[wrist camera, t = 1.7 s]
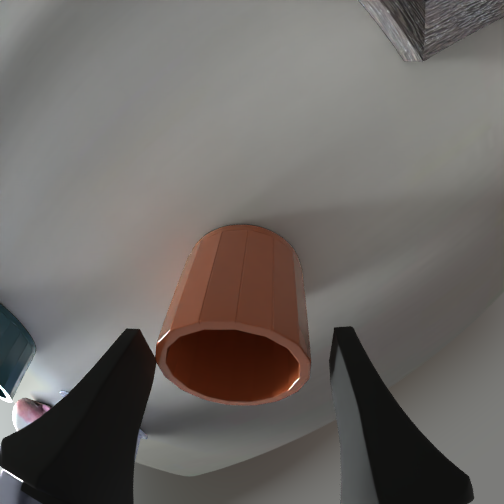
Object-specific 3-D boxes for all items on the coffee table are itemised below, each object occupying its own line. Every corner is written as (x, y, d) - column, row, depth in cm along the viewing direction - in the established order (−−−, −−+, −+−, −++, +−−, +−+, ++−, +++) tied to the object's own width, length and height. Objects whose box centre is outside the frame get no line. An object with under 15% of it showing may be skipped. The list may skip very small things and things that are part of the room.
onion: (15, 388, 30) (-1, 423, 24) (33, 388, 28) (15, 430, 22) (52, 416, 34) (39, 451, 28) (75, 419, 32) (61, 459, 26)
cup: (301, 311, 15) (307, 404, 11) (201, 314, 16) (180, 402, 12) (300, 220, 12) (314, 317, 8) (176, 228, 13) (132, 319, 8)
